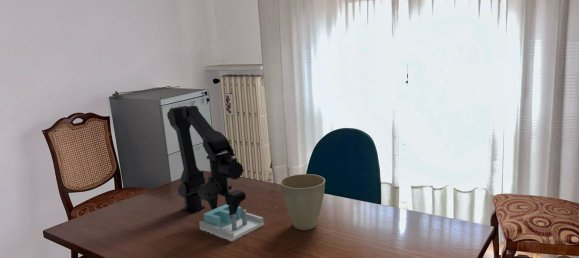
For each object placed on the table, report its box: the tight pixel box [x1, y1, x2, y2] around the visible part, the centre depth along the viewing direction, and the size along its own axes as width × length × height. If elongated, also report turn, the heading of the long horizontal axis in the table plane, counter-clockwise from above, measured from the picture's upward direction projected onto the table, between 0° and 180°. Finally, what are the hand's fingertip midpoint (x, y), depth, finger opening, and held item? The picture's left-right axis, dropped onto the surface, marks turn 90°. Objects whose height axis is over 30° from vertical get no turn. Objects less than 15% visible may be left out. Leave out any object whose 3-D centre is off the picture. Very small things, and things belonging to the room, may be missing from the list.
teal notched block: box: [203, 203, 243, 228], centre depth 157 cm, size 7×11×4 cm, turn 139°
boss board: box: [199, 209, 265, 242], centre depth 155 cm, size 16×15×6 cm
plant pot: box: [279, 173, 326, 231], centre depth 152 cm, size 15×15×16 cm
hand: (223, 215), depth 157 cm, fingers open, 9 cm apart
